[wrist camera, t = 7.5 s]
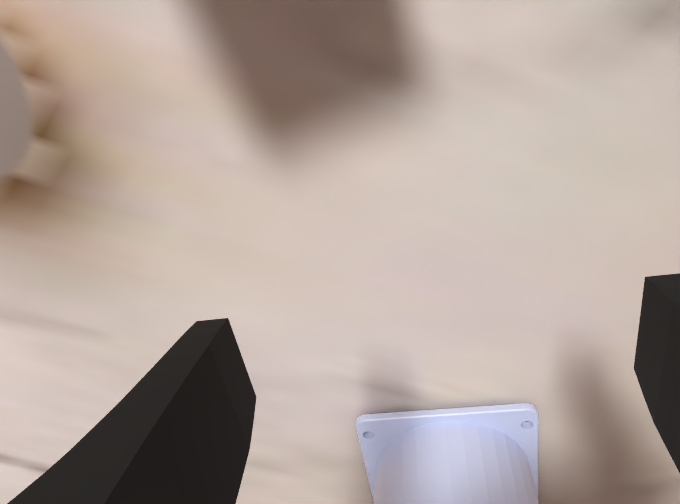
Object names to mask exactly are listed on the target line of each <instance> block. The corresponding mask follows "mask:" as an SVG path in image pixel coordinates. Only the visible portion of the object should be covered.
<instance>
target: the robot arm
mask: <svg viewBox="0 0 680 504" xmlns="http://www.w3.org/2000/svg"><path fill="white" fill-rule="evenodd" d="M634 370H635V373H636V375H637V378H638V381H639V384H640V387H641V390H642V392H643V395H644V398H645V401H646V403H647V406H648V409H649V411H650V414H651V416H652V419H653V422H654V424H655V426H656V428H657V430H658V432H659V434H660V436H661V438H662V440H663V442H664V444H665V446H666V447H667V449H668V451H669V453H670V455H671V457H672V459H673V461H674V463H675V465H676V467H677V469H678V471H679V472H680V274H670V275H660V276H650V277H645V282H644V290H643V298H642V307H641V315H640V323H639V331H638V339H637V347H636V355H635V363H634ZM255 403H256V395H255V392H254V389H253V387H252V384H251V381H250V378H249V376H248V373H247V370H246V367H245V364H244V362H243V359H242V356H241V353H240V350H239V348H238V345H237V342H236V339H235V336H234V334H233V331H232V328H231V325H230V322H229V320H228V318H225V319H215V320H205V321H197V322H196V323H195V324H193V325H192V326H191V327H190V328H189V329H188V330H187V331H186V332H185V333H184V335H183V336H182V337H181V338H180V339H179V340H178V341H177V342H176V343H175V344H174V345H173V346H172V347H171V348H170V349H169V350H168V352H167V353H166V354H165V355H164V356H163V357H162V358H161V359H160V360H159V361H158V362H157V363H156V364H155V366H154V367H153V368H152V369H151V370H150V371H149V372H148V373H147V374H146V375H145V376H144V377H143V378H142V379H141V380H140V381H139V382H138V383H137V384H136V386H135V387H134V388H133V389H132V390H131V391H130V392H129V393H128V394H127V395H126V396H125V397H124V398H123V399H122V400H121V401H120V402H119V403H118V404H117V405H116V406H115V407H114V408H113V409H112V410H111V411H110V412H109V413H108V414H107V415H106V416H105V417H104V418H103V419H102V420H101V421H100V422H99V423H98V424H97V425H96V426H95V427H94V428H93V429H92V430H91V431H89V432H88V433H87V434H86V435H85V436H84V437H83V438H82V439H81V440H80V441H79V442H78V443H77V444H76V445H75V446H74V447H73V448H72V449H71V450H70V451H69V452H68V453H66V454H65V455H64V456H63V457H62V458H61V459H60V460H59V461H58V462H56V463H55V464H54V465H53V466H52V467H51V468H50V469H48V470H47V471H46V472H45V473H44V474H43V475H41V476H40V477H39V478H38V479H37V480H35V481H34V482H33V483H32V484H31V485H29V486H28V487H27V488H26V489H25V490H23V491H22V492H21V493H20V494H19V495H17V496H16V497H15V498H14V499H13V500H11V501H10V502H9V503H8V504H235V503H236V499H237V496H238V492H239V488H240V484H241V480H242V476H243V473H244V469H245V465H246V461H247V457H248V453H249V449H250V442H251V435H252V428H253V420H254V412H255ZM525 421H528V422H525ZM538 427H539V415H538V412H537V408H536V407H535V406H534V405H532V404H530V403H520V404H505V405H491V406H477V407H462V408H448V409H434V410H419V411H405V412H391V413H376V414H364V415H361V416H359V417H358V418H357V420H356V430H357V434H358V439H359V443H360V447H361V451H362V455H363V459H364V464H365V468H366V472H367V476H368V480H369V485H370V489H371V493H372V497H373V501H374V504H539V503H538ZM367 431H368V432H367Z"/></svg>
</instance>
